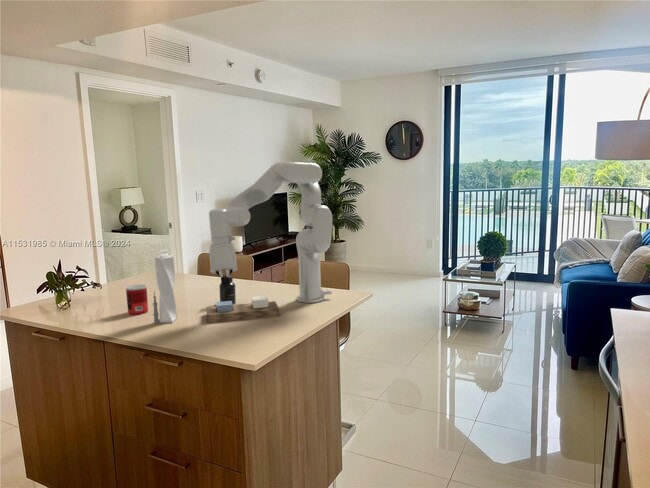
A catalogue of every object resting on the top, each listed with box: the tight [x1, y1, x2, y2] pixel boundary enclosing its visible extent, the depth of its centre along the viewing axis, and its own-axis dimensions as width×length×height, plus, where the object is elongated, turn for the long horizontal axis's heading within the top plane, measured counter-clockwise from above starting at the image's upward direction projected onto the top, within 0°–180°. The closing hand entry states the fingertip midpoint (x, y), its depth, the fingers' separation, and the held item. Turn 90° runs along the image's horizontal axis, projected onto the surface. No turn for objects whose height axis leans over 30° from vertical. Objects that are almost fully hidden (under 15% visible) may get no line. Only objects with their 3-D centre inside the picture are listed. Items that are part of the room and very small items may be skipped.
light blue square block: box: [216, 301, 234, 312], centre depth 190 cm, size 6×6×3 cm
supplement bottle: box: [218, 275, 237, 305], centre depth 209 cm, size 7×7×12 cm
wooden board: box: [206, 301, 281, 324], centre depth 192 cm, size 28×12×3 cm, turn 104°
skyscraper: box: [152, 249, 178, 325], centre depth 185 cm, size 8×8×28 cm
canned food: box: [125, 284, 149, 316], centre depth 199 cm, size 8×8×11 cm
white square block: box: [251, 295, 269, 308], centre depth 193 cm, size 6×6×3 cm
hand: (225, 286), depth 189 cm, fingers closed
